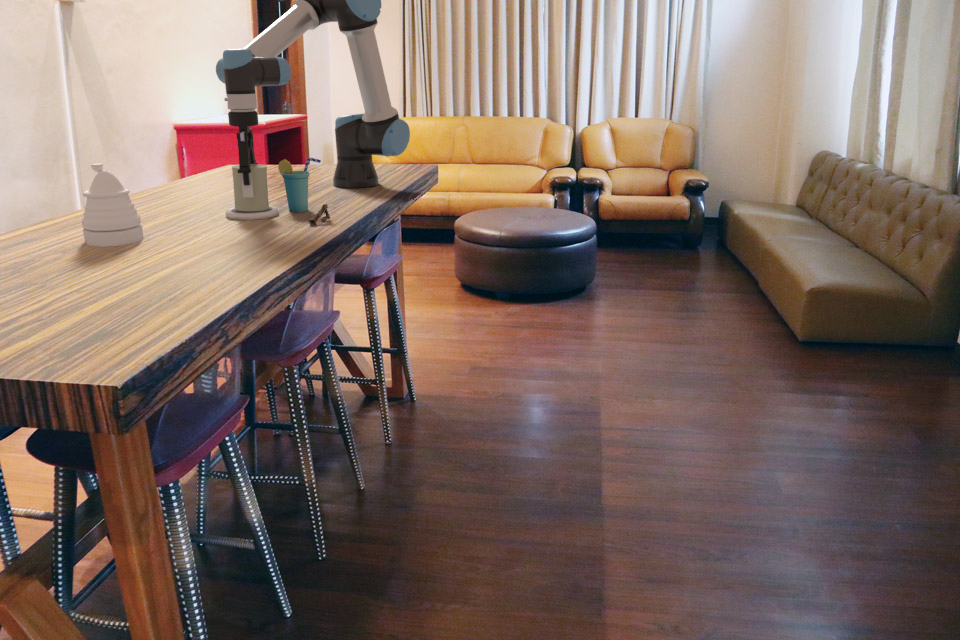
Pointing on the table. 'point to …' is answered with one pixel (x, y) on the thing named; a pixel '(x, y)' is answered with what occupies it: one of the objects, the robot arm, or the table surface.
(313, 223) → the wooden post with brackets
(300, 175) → the cup
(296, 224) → the table surface
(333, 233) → the table surface
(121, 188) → the honey pot
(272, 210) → the white and grey plate
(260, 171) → the can
